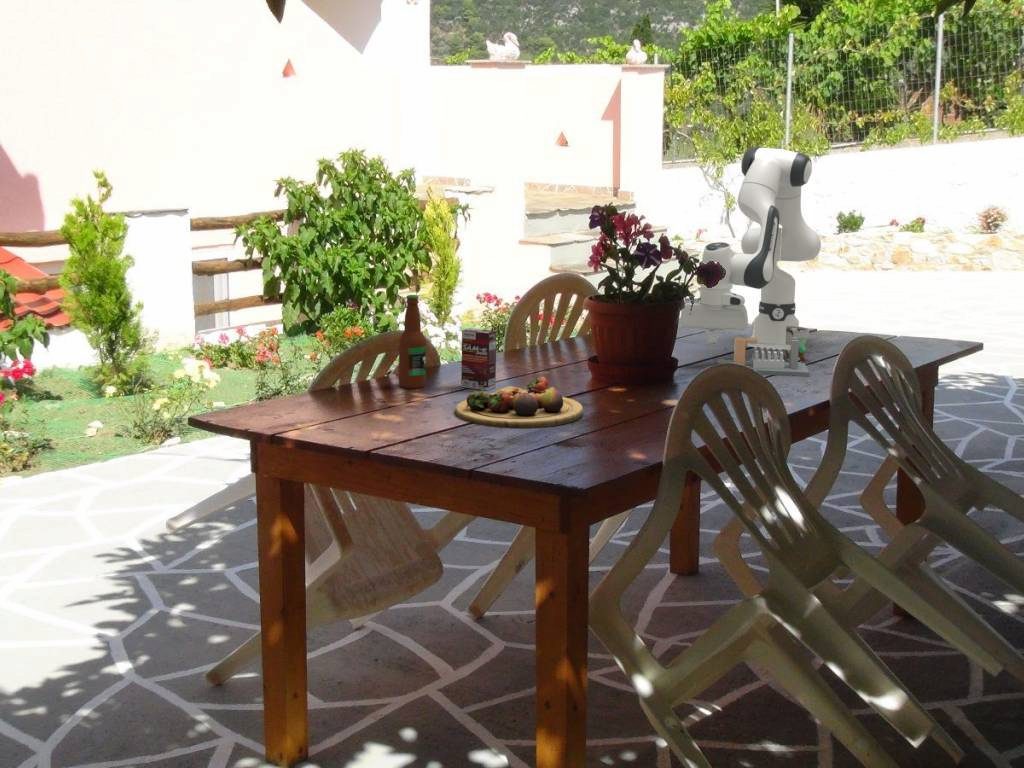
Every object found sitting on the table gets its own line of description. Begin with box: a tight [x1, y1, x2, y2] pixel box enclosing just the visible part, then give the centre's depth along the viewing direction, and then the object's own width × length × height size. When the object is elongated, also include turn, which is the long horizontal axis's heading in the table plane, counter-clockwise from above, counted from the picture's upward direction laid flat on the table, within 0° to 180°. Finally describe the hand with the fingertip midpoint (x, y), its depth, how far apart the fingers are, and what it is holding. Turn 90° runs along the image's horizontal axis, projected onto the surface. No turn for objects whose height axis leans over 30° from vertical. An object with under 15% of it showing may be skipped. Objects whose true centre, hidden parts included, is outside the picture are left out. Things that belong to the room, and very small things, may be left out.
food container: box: [784, 326, 810, 363], centre depth 400 cm, size 12×6×10 cm, turn 179°
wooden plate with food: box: [455, 376, 584, 429], centre depth 319 cm, size 32×32×8 cm
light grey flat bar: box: [746, 342, 792, 350], centre depth 382 cm, size 3×15×1 cm, turn 82°
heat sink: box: [717, 338, 810, 377], centre depth 383 cm, size 16×26×10 cm, turn 82°
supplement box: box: [460, 327, 498, 391], centre depth 349 cm, size 9×5×16 cm, turn 62°
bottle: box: [398, 294, 427, 390], centre depth 348 cm, size 7×7×25 cm
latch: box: [733, 336, 758, 365], centre depth 384 cm, size 6×6×8 cm
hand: (712, 343), depth 385 cm, fingers closed
